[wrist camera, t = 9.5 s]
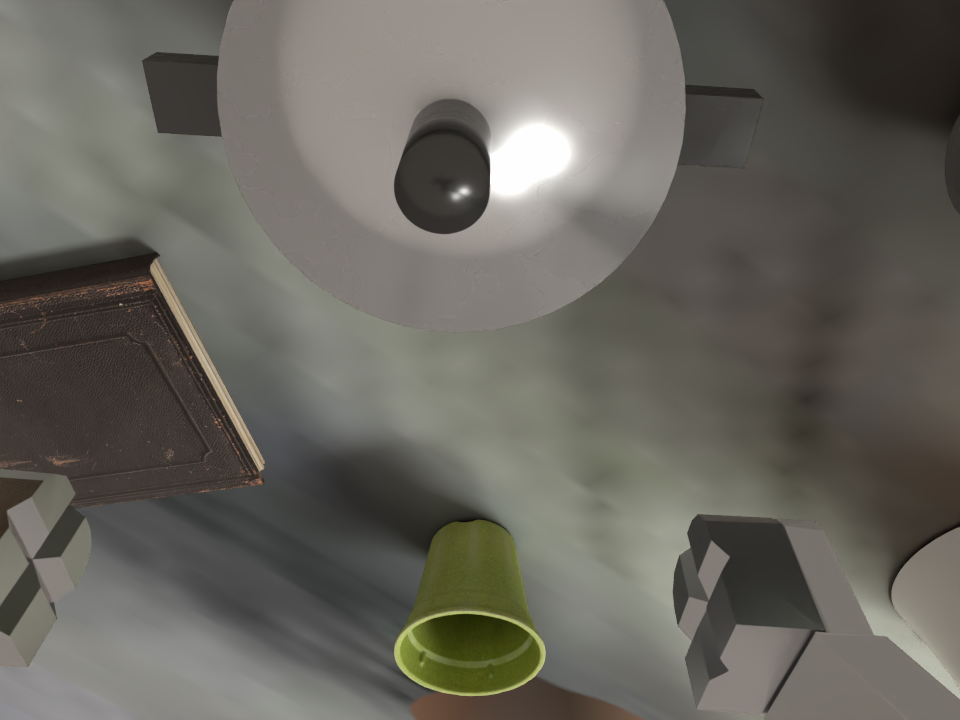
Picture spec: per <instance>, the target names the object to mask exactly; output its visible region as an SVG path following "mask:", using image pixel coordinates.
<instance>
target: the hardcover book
mask: <svg viewBox="0 0 960 720" xmlns="http://www.w3.org/2000/svg"><path fill="white" fill-rule="evenodd" d="M158 256H160V255H159V254H158V253H155V254H149V255H144V256H138V257H133V258H127V259H122V260H116V261H111V262H105V263H100V264H94V265H89V266H84V267H78V268H73V269H67V270H62V271H56V272H51V273H45V274H40V275H34V276H29V277H23V278H18V279H12V280H7V281H1V282H0V469H6V470H17V471H28V472H39V473H50V474H58V475H63V476H67V477H68V479H69V481H70V483H71V486H72V488H73V490H74V492H75V496H74V497H73V499H72V500H71V502H70V504H69V505H70V506H71V507H72V508H82V507H90V506H98V505H105V504H113V503H121V502H128V501H136V500H144V499H152V498H159V497H167V496H175V495H183V494H190V493H198V492H206V491H214V490H221V489H229V488H237V487H245V486H252V485H260V484H264V479H263V477H262V476H261V474H260V471H261V470H263V469H264V466H263V464H264V463H265V461H264V459H263V457H262V455H261V454H260V452H259V450H258V448H257V446H256V444H255V442H254V440H253V438H252V437H251V435H250V433H249V431H248V429H247V427H246V425H245V423H244V421H243V420H242V418H241V416H240V414H239V412H238V410H237V408H236V406H235V405H234V403H233V401H232V399H231V397H230V395H229V393H228V391H227V389H226V388H225V386H224V384H223V382H222V380H221V378H220V376H219V374H218V372H217V371H216V369H215V367H214V365H213V363H212V361H211V359H210V357H209V355H208V354H207V352H206V350H205V348H204V346H203V344H202V342H201V340H200V339H199V337H198V335H197V333H196V331H195V329H194V327H193V325H192V323H191V322H190V320H189V318H188V316H187V314H186V312H185V310H184V308H183V306H182V305H181V303H180V301H179V299H178V297H177V295H176V293H175V291H174V290H173V288H172V286H171V284H170V282H169V280H168V278H167V276H166V274H165V273H164V271H163V269H162V267H161V265H160V263H159V261H158V259H157V257H158Z"/></svg>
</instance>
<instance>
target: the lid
mask: <svg viewBox="0 0 960 720" xmlns="http://www.w3.org/2000/svg"><path fill="white" fill-rule="evenodd" d="M217 104H218V114H219V121H220V127H221V133H222V139H223V143H224V146H225V150H226V153H227V157H228V160H229V164H230V167H231V170H232V172H233V175H234V177H235V179H236V182H237V184H238V187H239V189H240V191H241V194H242V196H243V198H244V199H245V201H246V203H247V205H248V206H249V208H250V210H251V212H252V213H253V215H254V217H255V219H256V220H257V222H258V223H259V225H260V226H261V227H262V229H263V230H264V231H265V233H266V234H267V236H268V237H269V238H270V240H271V241H272V242H273V244H274V245H275V246H276V247H277V248H278V249H279V250H280V251H281V252H282V253H283V254H284V256H285V257H286V258H287V259H288V260H289V261H290V262H291V263H292V264H293V265H294V266H295V267H296V268H298V269H299V270H300V271H301V272H302V273H303V274H304V275H306V276H307V277H308V278H309V279H310V280H311V281H313V282H314V283H315V284H317V285H318V286H320V287H321V288H323V289H324V290H325V291H327V292H328V293H330V294H331V295H333V296H334V297H336V298H338V299H340V300H341V301H343V302H345V303H347V304H349V305H351V306H352V307H354V308H356V309H358V310H361V311H363V312H365V313H368V314H370V315H373V316H375V317H378V318H380V319H383V320H386V321H390V322H393V323H397V324H400V325H403V326H408V327H413V328H419V329H425V330H430V331H444V332H475V331H486V330H493V329H499V328H506V327H509V326H513V325H517V324H521V323H524V322H528V321H531V320H534V319H536V318H539V317H542V316H544V315H547V314H549V313H552V312H554V311H556V310H558V309H560V308H562V307H564V306H565V305H567V304H569V303H571V302H573V301H575V300H577V299H578V298H580V297H581V296H582V295H584V294H585V293H587V292H588V291H590V290H591V289H593V288H594V287H596V286H597V285H598V284H599V283H601V282H602V281H603V280H604V279H605V278H606V277H607V276H609V275H610V274H611V273H612V272H613V271H614V270H615V269H617V268H618V267H619V266H620V264H621V263H622V262H623V261H624V260H625V259H626V258H627V257H628V255H629V254H630V253H631V252H632V251H633V250H634V249H635V248H636V246H637V245H638V244H639V242H640V241H641V239H642V238H643V236H644V235H645V234H646V232H647V231H648V229H649V228H650V226H651V225H652V223H653V221H654V219H655V218H656V216H657V214H658V212H659V210H660V208H661V206H662V204H663V202H664V201H665V198H666V196H667V193H668V190H669V188H670V185H671V182H672V180H673V177H674V175H675V172H676V168H677V164H678V159H679V155H680V151H681V147H682V143H683V133H684V124H685V114H686V102H685V77H684V71H683V65H682V58H681V52H680V47H679V43H678V40H677V37H676V33H675V30H674V27H673V23H672V20H671V17H670V14H669V12H668V10H667V8H666V5H665V3H664V1H663V0H233V2H232V5H231V7H230V10H229V12H228V16H227V20H226V24H225V28H224V32H223V36H222V40H221V44H220V52H219V61H218V71H217Z"/></svg>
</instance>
